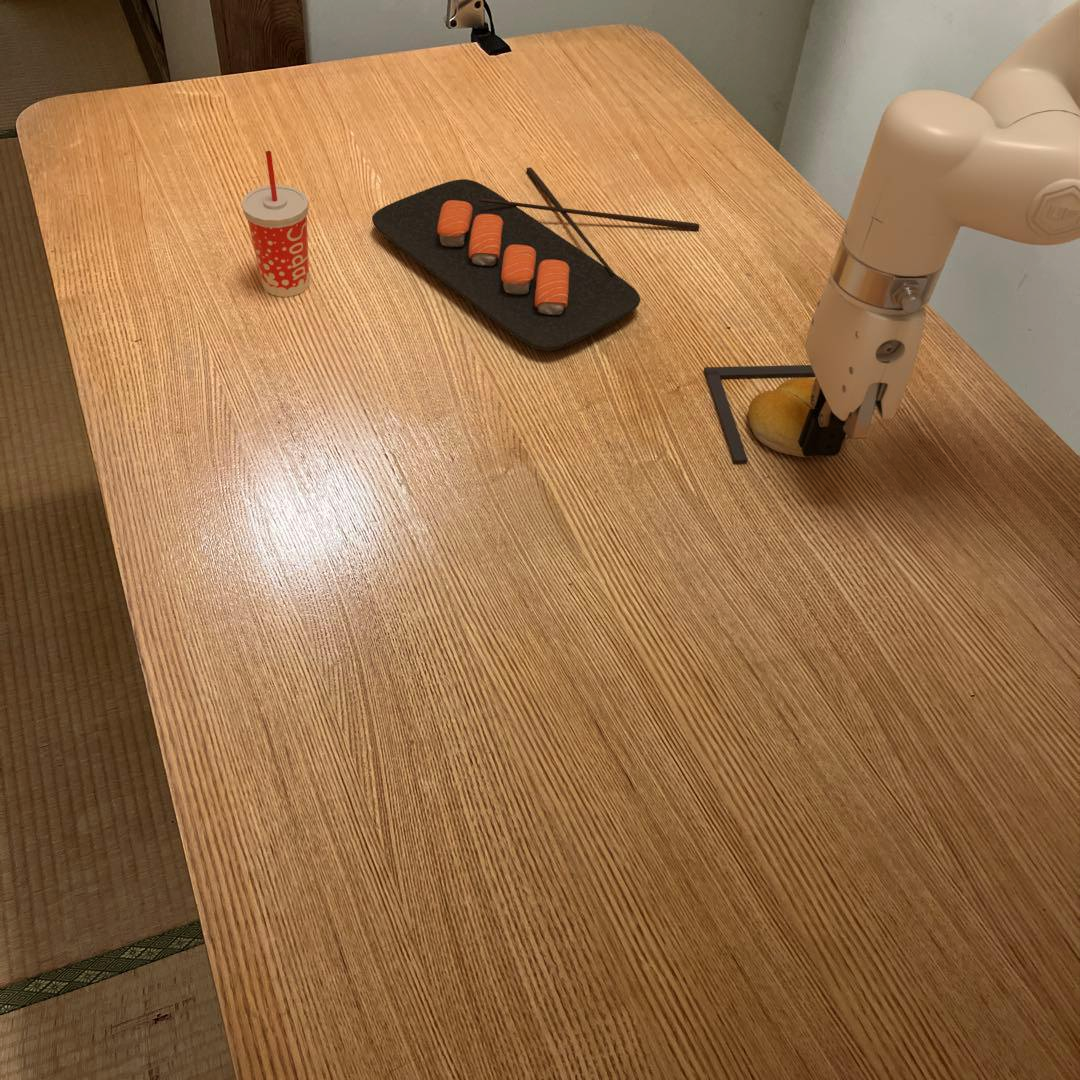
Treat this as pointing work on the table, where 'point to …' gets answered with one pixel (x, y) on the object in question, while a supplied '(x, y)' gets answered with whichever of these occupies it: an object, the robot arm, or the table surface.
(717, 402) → the corner guide
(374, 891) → the table surface
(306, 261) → the beverage cup
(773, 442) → the bread roll
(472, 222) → the sushi plate
